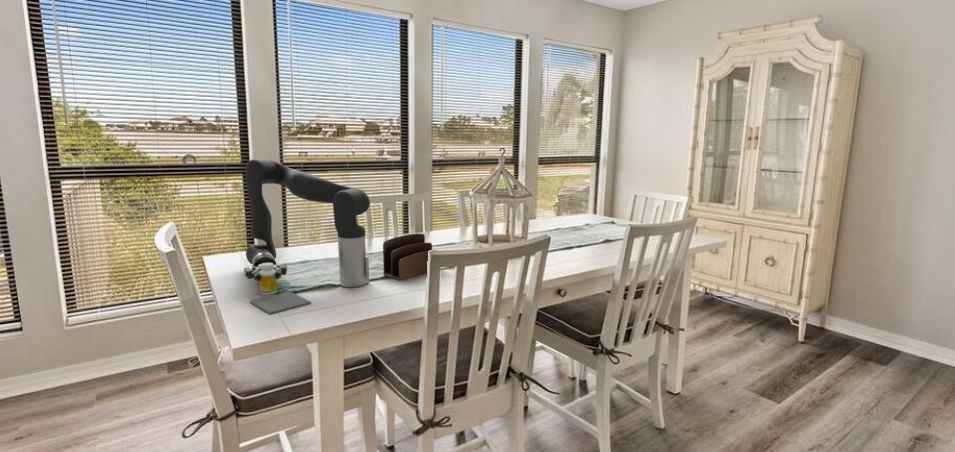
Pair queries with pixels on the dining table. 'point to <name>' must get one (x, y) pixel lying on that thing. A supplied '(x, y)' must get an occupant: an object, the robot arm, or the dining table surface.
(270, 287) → the supplement bottle
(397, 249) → the letter holder
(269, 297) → the mat
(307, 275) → the dining table surface
